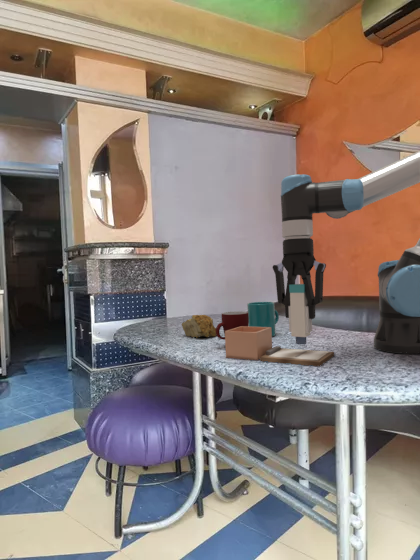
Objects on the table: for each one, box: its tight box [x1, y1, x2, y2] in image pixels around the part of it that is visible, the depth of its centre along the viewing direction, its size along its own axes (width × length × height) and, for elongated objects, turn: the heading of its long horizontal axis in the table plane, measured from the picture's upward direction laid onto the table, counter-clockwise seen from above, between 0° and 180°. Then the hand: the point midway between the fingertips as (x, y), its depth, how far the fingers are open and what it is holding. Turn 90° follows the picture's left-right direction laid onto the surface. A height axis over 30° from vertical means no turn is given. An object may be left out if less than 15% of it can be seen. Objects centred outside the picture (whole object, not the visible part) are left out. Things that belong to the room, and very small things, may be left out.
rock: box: [181, 314, 217, 339], centre depth 144 cm, size 12×9×10 cm
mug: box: [215, 310, 249, 341], centre depth 122 cm, size 11×8×10 cm
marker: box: [289, 283, 311, 345], centre depth 103 cm, size 4×4×15 cm
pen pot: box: [224, 326, 273, 361], centre depth 109 cm, size 9×9×7 cm
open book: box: [259, 345, 335, 367], centre depth 103 cm, size 15×12×2 cm
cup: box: [246, 301, 279, 338], centre depth 139 cm, size 9×12×11 cm
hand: (300, 331), depth 103 cm, fingers closed on marker, 4 cm apart
